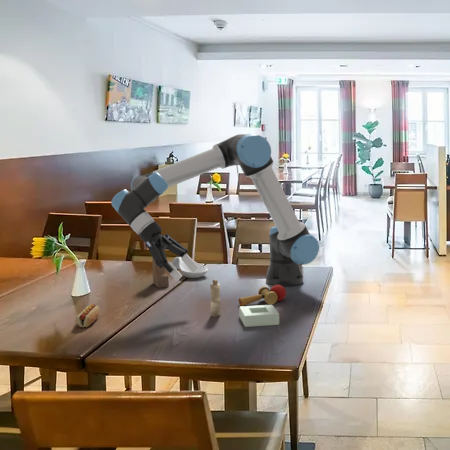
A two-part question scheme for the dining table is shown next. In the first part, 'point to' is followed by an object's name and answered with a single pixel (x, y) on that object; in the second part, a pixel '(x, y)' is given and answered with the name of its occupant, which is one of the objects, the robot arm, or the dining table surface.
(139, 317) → the dining table surface
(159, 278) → the wooden block
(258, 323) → the peg hole block
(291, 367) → the dining table surface
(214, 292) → the beige bottle
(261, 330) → the dining table surface
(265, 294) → the kendama
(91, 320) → the food
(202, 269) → the spoon rest
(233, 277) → the dining table surface
